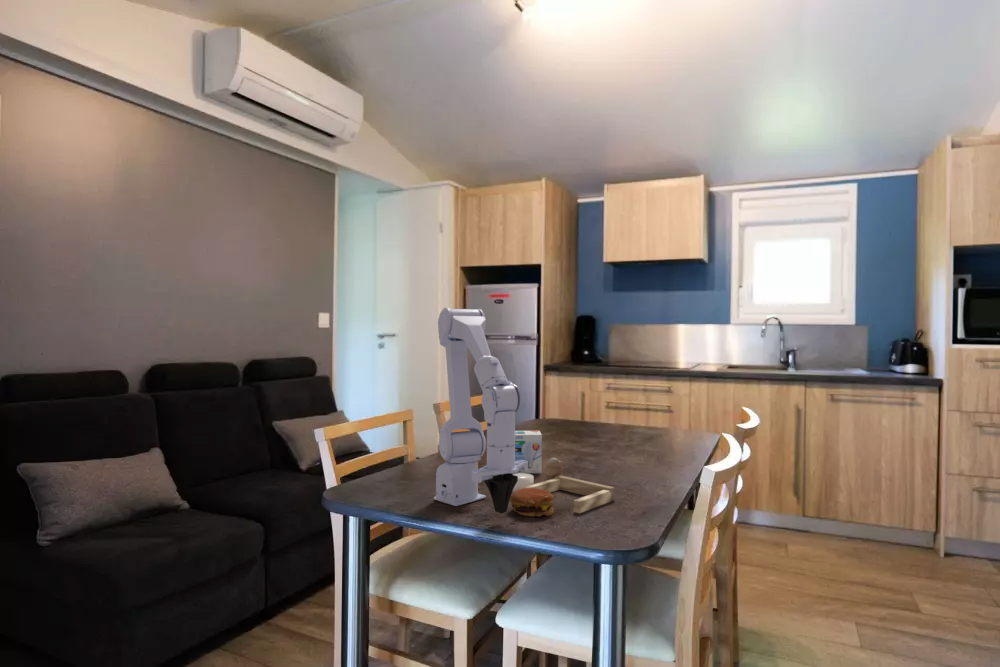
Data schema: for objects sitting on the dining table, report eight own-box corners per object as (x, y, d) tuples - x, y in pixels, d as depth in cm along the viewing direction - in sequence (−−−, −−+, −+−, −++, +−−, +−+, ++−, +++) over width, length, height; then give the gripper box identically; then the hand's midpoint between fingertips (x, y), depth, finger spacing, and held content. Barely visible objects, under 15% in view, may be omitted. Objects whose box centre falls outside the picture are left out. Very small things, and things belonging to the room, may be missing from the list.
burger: (520, 503, 128) (520, 482, 128) (559, 508, 125) (559, 487, 125) (503, 515, 119) (503, 493, 119) (545, 522, 115) (545, 499, 115)
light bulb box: (503, 473, 155) (503, 434, 155) (502, 468, 161) (502, 430, 161) (542, 473, 155) (542, 434, 155) (540, 467, 162) (540, 430, 162)
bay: (579, 513, 120) (579, 499, 120) (523, 498, 131) (523, 485, 131) (614, 500, 130) (614, 487, 130) (558, 487, 141) (559, 475, 141)
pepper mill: (555, 488, 140) (555, 460, 140) (542, 485, 143) (542, 457, 143) (565, 485, 143) (565, 457, 143) (552, 482, 146) (552, 455, 146)
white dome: (522, 495, 134) (522, 480, 134) (504, 490, 138) (504, 476, 138) (538, 490, 138) (538, 476, 138) (520, 485, 143) (520, 472, 143)
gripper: (489, 452, 106) (489, 524, 106) (539, 442, 117) (538, 508, 117) (464, 447, 111) (464, 516, 111) (514, 437, 122) (513, 500, 122)
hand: (500, 511), depth 114 cm, fingers closed
